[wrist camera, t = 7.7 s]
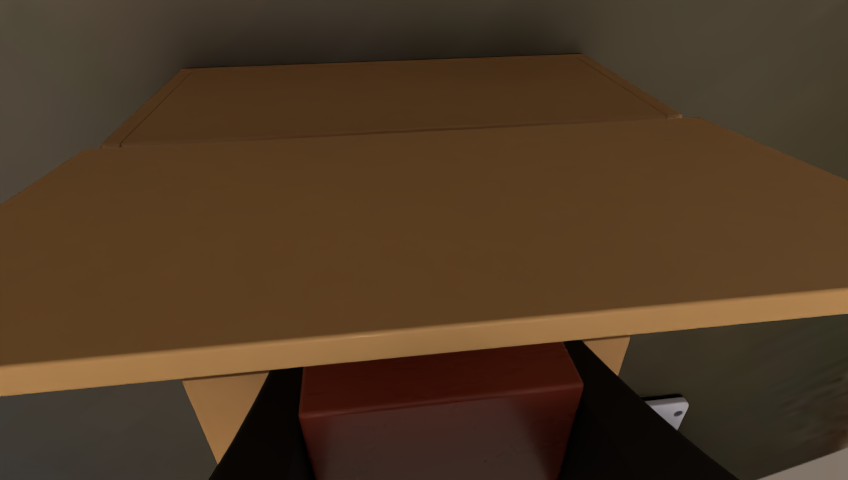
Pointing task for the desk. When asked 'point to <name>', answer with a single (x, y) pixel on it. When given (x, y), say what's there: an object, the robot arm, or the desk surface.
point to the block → (442, 415)
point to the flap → (405, 248)
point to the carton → (373, 114)
